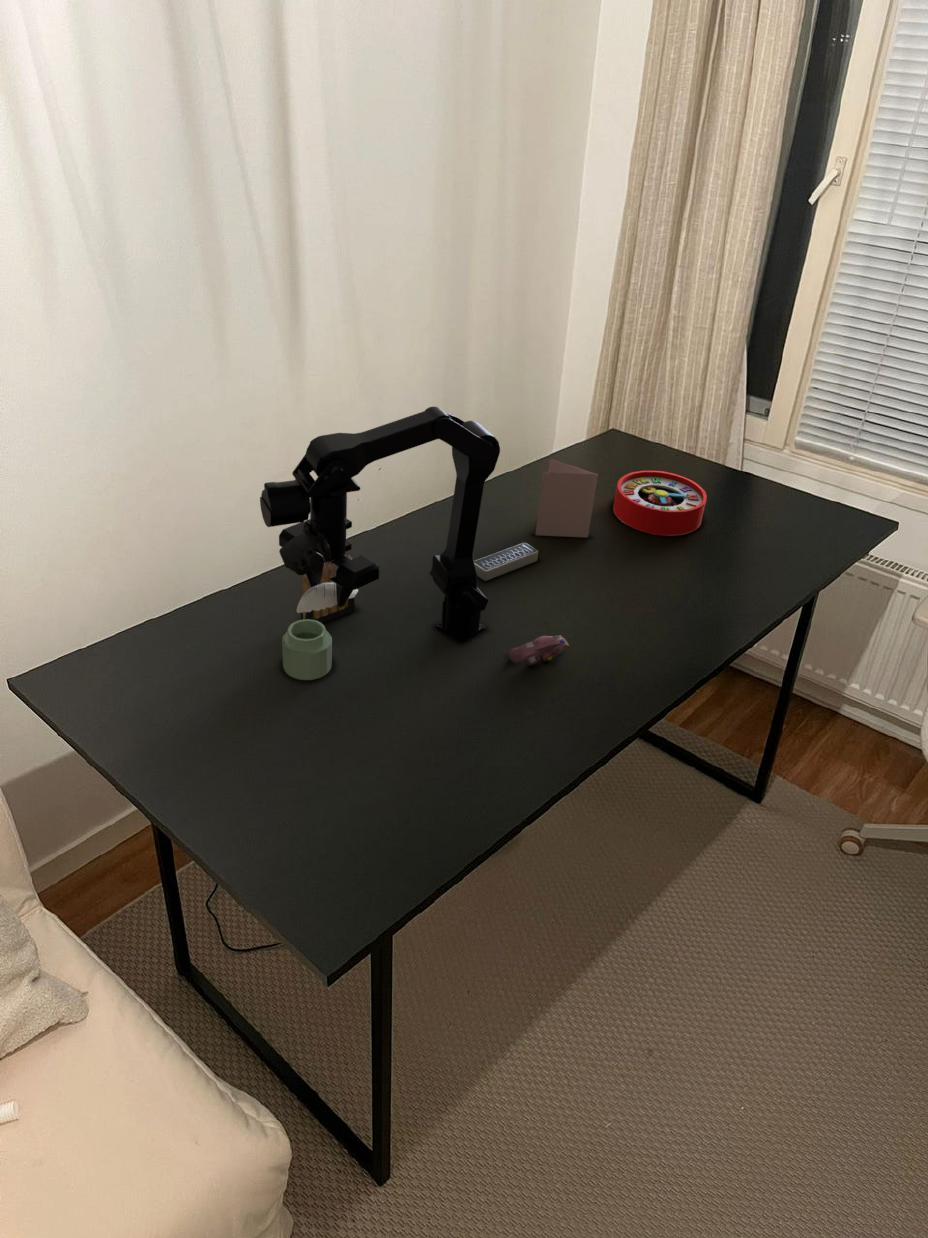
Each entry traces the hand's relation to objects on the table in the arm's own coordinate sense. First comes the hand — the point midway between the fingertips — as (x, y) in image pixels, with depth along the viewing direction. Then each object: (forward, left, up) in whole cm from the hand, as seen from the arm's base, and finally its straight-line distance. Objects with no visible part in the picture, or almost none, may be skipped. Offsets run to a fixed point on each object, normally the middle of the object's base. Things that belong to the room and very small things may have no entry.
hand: (328, 598), depth 167 cm
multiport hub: (-1, -47, -12) cm, 48 cm away
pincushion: (0, 0, -1) cm, 1 cm away
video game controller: (-26, -27, -13) cm, 39 cm away
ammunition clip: (+9, -8, -13) cm, 17 cm away
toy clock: (-9, -91, -12) cm, 92 cm away
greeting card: (0, -66, -13) cm, 67 cm away
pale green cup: (0, +4, -12) cm, 13 cm away
